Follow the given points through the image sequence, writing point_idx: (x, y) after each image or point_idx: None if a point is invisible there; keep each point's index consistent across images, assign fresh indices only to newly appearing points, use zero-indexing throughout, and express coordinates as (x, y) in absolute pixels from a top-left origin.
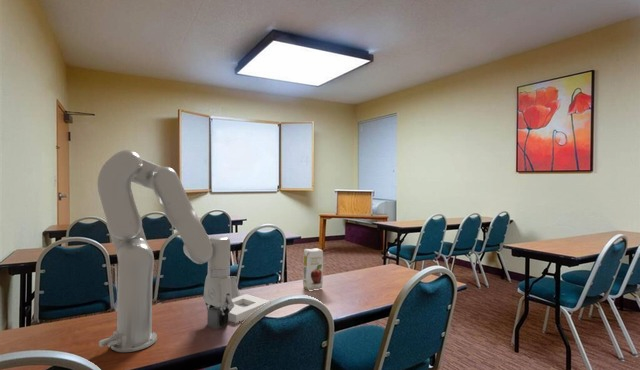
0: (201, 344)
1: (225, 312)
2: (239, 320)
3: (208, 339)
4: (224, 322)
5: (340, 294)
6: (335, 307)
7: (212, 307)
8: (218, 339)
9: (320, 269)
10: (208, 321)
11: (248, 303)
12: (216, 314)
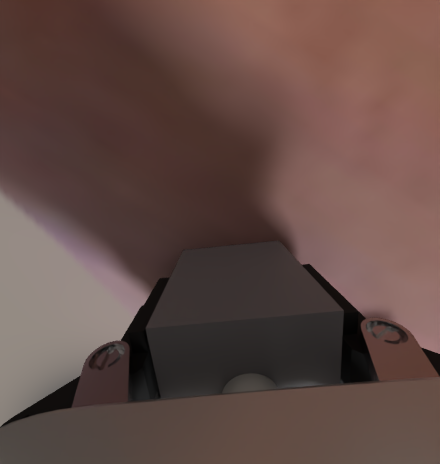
0: (34, 41)
1: (70, 388)
2: None
3: (80, 128)
4: (140, 310)
5: None
6: None
7: (334, 373)
8: (39, 177)
9: None
10: (276, 253)
11: None
12: (162, 309)
